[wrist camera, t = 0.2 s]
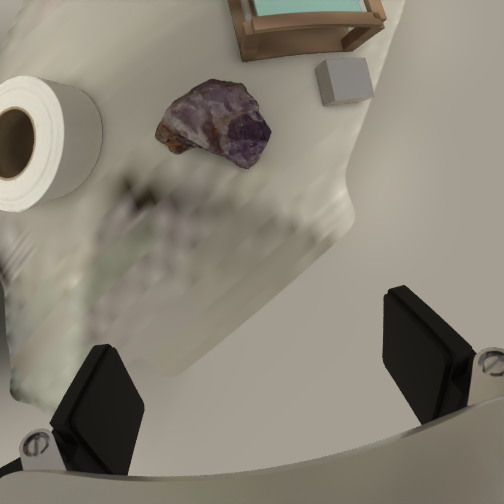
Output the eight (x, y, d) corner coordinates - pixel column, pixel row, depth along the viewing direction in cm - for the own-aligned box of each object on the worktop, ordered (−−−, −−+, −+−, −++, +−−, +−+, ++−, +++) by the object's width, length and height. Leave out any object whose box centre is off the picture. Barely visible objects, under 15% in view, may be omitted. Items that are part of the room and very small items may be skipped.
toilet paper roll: (91, 205, 38) (51, 224, 28) (10, 187, 36) (-36, 200, 26) (115, 91, 33) (79, 74, 23) (28, 85, 31) (-18, 76, 21)
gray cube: (314, 69, 34) (325, 59, 30) (350, 67, 34) (365, 57, 29) (322, 105, 36) (335, 100, 31) (358, 102, 36) (374, 97, 31)
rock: (240, 175, 39) (270, 104, 36) (253, 189, 32) (291, 99, 29) (152, 145, 36) (182, 70, 33) (142, 151, 28) (181, 55, 25)
